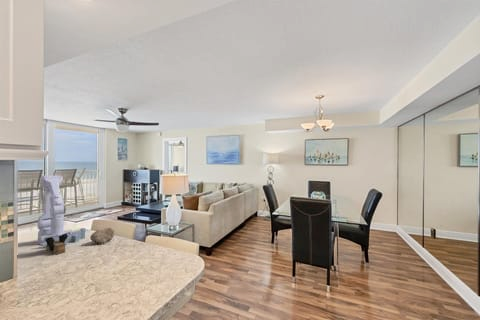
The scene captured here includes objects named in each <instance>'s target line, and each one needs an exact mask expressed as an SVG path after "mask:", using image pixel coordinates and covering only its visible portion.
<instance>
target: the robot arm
mask: <svg viewBox="0 0 480 320" xmlns="http://www.w3.org/2000/svg"><path fill="white" fill-rule="evenodd" d="M63 179H64V178H63V176H62V175H61V174H60V175H44V174H43V175H42V176H41V178H40V188H41V189H44V191H45V192H44V211H43V214H41V215H40V216H39V217H38V219H37V229H38V230H39V231H38V232H37V241H36V242H35V243H36V244H38V245H40V246H44V245H45V246H47V244H48V246H49V250H50V251H53V243H54V239H53V237H57V236H59V242H61V243H64V242H65V240H66V238H67V237H68V235H67V234H71V233H72V232H73V230H72V229H68V230H64V223H65V214H66V212H67V211H66V210H67V207H66V204H65V203H64V199H63V195H61V194H60V186H61V185H62V184H63V181H64V180H63Z"/></svg>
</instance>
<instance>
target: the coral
mask: <svg viewBox="0 0 480 320" xmlns="http://www.w3.org/2000/svg"><path fill="white" fill-rule="evenodd" d="M114 233H115V230H114V229H113V228H112V227H107V228H103V229H100V230H99V229H98V230H96V231H94V232H93V233H92V234H91V235H90V236H89V237H90V240H91V242H92V243H94V242H95V243H96V242H97V243H100V244H103V245H105V244H106V243H107V242H111V240H112V239H113V238H114V235H115V234H114Z"/></svg>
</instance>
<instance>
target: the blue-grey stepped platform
mask: <svg viewBox="0 0 480 320" xmlns="http://www.w3.org/2000/svg"><path fill="white" fill-rule="evenodd" d="M67 235H68V237H67V238H66V240H65V242H64V243H65V246H67V244H68V243H77V242H79V241H80V240H83V239H84V240H85V238H86V228H84V227H82V228H80V229H78V230H75V231H72V233H71V234H67ZM53 239H54V240H55V241H58V242H59V236H57V237H53Z"/></svg>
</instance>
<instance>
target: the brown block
mask: <svg viewBox="0 0 480 320" xmlns="http://www.w3.org/2000/svg"><path fill="white" fill-rule="evenodd" d="M45 246H46V248H45V249H46V251H47V252H49V253H52V254H54V255H61V254H64V253H66V245H65V243H61V242H58V241H55V240H54V243H53V251H50V250H49V246H48V244H46V245H45Z"/></svg>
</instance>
